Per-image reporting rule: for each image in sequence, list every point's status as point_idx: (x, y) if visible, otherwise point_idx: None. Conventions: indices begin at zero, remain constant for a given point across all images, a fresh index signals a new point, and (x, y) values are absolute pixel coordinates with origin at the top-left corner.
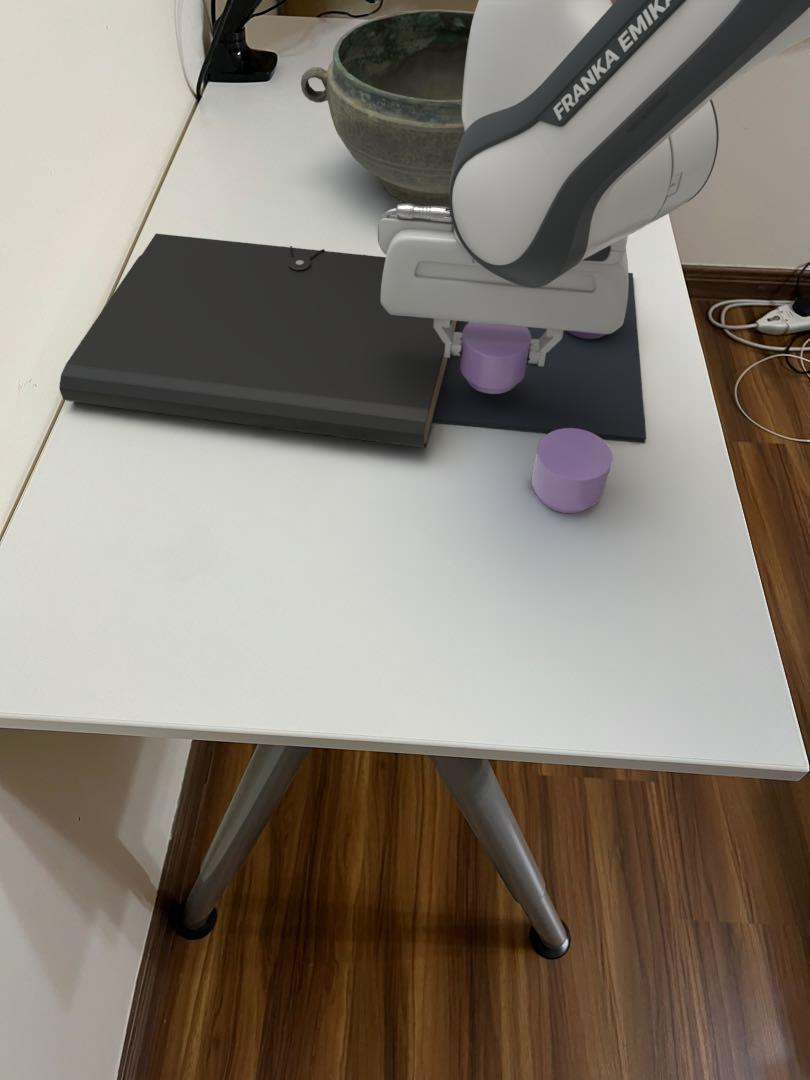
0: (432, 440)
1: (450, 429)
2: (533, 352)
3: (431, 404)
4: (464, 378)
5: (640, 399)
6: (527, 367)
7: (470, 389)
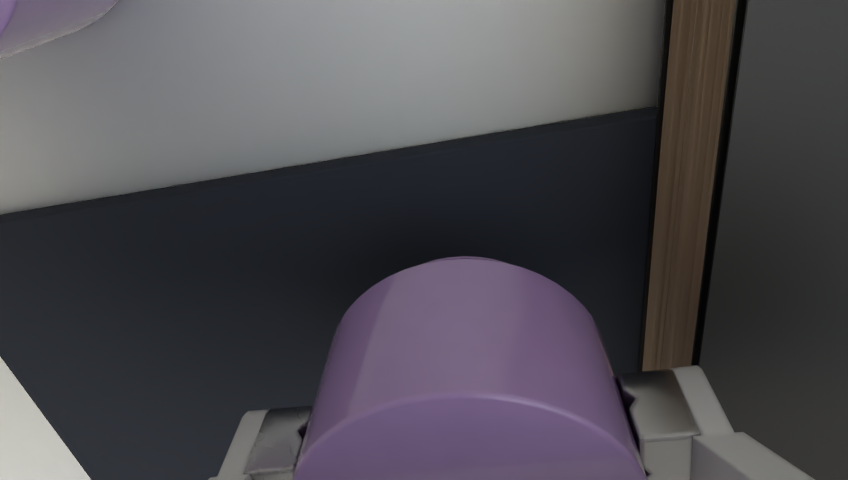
0: (639, 2)
1: (573, 91)
2: (275, 465)
3: (714, 89)
4: None
5: (23, 378)
6: None
7: None
